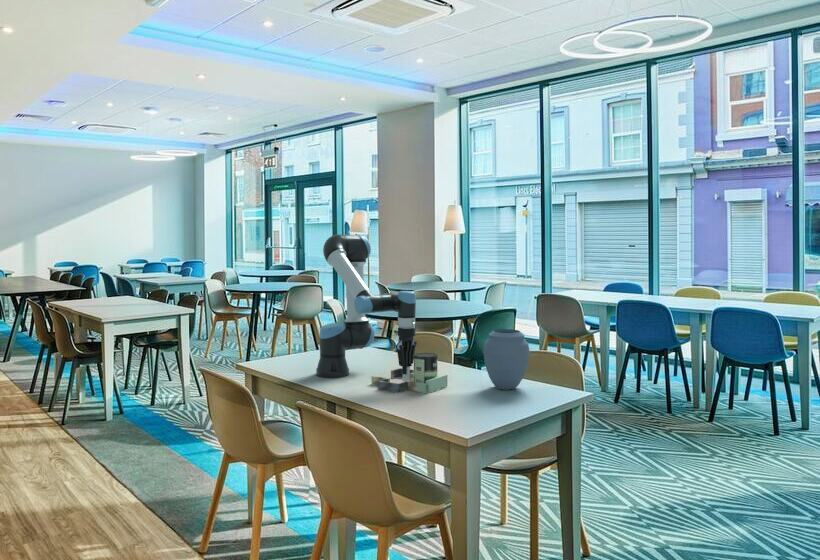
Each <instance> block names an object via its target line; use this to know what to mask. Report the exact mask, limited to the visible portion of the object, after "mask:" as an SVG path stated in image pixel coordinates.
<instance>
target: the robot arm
mask: <svg viewBox="0 0 820 560" xmlns="http://www.w3.org/2000/svg"><path fill="white" fill-rule="evenodd" d="M371 248H372V247H371V244H370V241H369V239H367V237H366V236H365V235H363V234H355V233H354V234H333V235H332V236H330V237H328V238H327V239H326V241H325V242H324V244H323V248H322V252H323V257H324V259H325V261H326V262H327V264H328V265H329V266H331V267H332V268H333V269H334V270H335V272H336V273H337V274H338V277H340V279H341V281H342V282H343V283H344V285H345V292H346V293H345V295H346V316H347V317H346V318H345V319H344V322H331V323H327V324H324V325H322V326H321V327H320V330H319V360H318V363H317V367H316V373H315V374H316V376H317V377H321V378H342V377H346V376H349V375H350V367H349V365H348V363H347V362H348V361H347V359H346V351H350V350H358V349H360V350H362V349H364V348H365V349H366V348H369V347H370V346H371V345H372V343H373V341H374V339H375V329H374V325H372V324H371V323H370V320H369V318H368V317H367V316H366V314H367V315H368V314H373V313H375V314H376V313H384V312H385V313H386V312H388V313H389V312H397V327H398V328H397V336H398V337H399V340H398V341H399V343H398V344H396V345H395V348H396V353H397V359H398V360H397V361H398V366H400V367H401V368H402V374H403V376H402V379H401V380H402V381H401V382H406V381H410V369H411V367H412V366H413V365H414V357H413V355H414V354H416V346H417V342H418V341H415V340H414V337H415V336H416V311H417V310H416V303H417V300H416V299H417V298H416V297H417V296H416V292H414V291H413V290H400V291H398V294H395V293H387V292H386V293H382V294H373V293H372V291H371V290H370V288H369V287H368V285H367V284H366V282H365V281H364V280H365V279H364V265H366V263H367V259H368V258H369V257H370V255H371V252H372V249H371Z"/></svg>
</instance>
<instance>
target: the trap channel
mask: <svg viewBox="0 0 820 560" xmlns="http://www.w3.org/2000/svg"><path fill="white" fill-rule="evenodd" d="M398 376H403V374H402V367H399V368H395V369H392V370H390V377H384V376H378V375H372V376H371V385H374V386H377V388H378V390H379V391H386V392H390V393H397V394H399V393H403V392H406V391H413V392H418V382H414V369H411V368H410V381H406V382H404V381H401V382H400V383H397V382H391V379H392V380H393V379H396V378H395V377H398Z"/></svg>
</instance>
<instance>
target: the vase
mask: <svg viewBox="0 0 820 560" xmlns="http://www.w3.org/2000/svg"><path fill="white" fill-rule="evenodd" d="M483 345H484V346H483V349H482V350H483V352H482V353H483V360H484V366H485V369H486V371H487V375H488V377H489V379H490V381H491V383H492V384H493V386H494V388H497V389H498V390H501V389H503V390H504V391H511V390H510V389H513V390H515V389H516V388H517V387H518V386H520V384H521V382H522V381H523V379H524V377H525V373H526V371H527V368H528V365H529V360H530V359H529V358H530V347H529V342H528V341H527V340H526V339H525V333H523V332H521V330H518V329H512V328H509V329H508V328H499V329H493V331H492V330H491V332H490V333H488V338H487V339H486V340H485V341H484V343H483ZM503 390H502V391H503Z"/></svg>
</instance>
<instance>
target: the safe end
mask: <svg viewBox="0 0 820 560" xmlns="http://www.w3.org/2000/svg"><path fill="white" fill-rule="evenodd" d="M446 387H448V374H442V375H439V376H437V377H436V378H433V379H430V380H426V384H425V383H418V392H419V393H424V394H425V393H426V394H430V393H432V392H436V391H438V390H441V389H444V388H446Z"/></svg>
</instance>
